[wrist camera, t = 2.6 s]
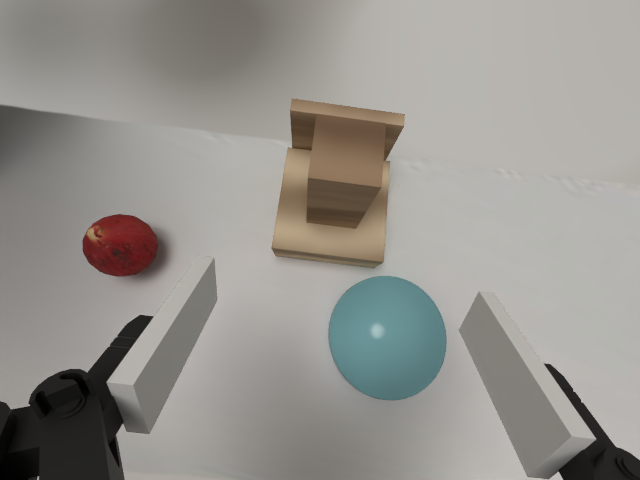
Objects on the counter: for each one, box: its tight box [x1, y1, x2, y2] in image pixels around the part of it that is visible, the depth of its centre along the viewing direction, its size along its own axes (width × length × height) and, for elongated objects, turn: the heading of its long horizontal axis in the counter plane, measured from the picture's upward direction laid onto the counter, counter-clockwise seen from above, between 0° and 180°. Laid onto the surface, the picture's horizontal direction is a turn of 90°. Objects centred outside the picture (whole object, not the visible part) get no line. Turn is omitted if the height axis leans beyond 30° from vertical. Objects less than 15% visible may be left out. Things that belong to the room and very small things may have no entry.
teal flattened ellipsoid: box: [329, 276, 446, 400], centre depth 30 cm, size 12×12×1 cm
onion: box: [83, 214, 158, 276], centre depth 28 cm, size 6×6×8 cm
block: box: [306, 114, 386, 229], centre depth 25 cm, size 5×5×10 cm
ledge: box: [272, 99, 405, 268], centre depth 29 cm, size 12×11×10 cm
